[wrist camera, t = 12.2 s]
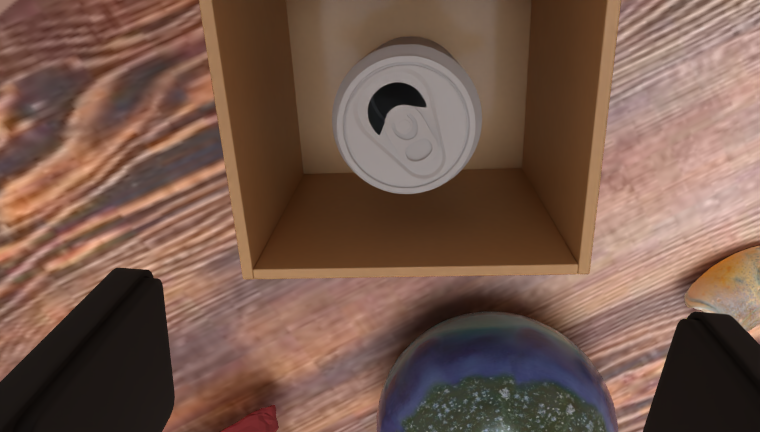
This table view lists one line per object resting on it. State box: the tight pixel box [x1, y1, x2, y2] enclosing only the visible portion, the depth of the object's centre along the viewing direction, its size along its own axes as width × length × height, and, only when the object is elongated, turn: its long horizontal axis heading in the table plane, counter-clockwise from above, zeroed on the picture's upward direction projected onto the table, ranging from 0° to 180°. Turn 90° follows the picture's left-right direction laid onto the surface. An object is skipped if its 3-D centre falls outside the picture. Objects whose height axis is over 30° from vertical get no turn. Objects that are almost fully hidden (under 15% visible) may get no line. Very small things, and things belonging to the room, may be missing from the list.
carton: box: [199, 0, 621, 279], centre depth 28 cm, size 13×15×14 cm
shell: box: [684, 246, 760, 331], centre depth 37 cm, size 8×4×5 cm, turn 135°
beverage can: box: [332, 36, 482, 194], centre depth 28 cm, size 6×6×12 cm
